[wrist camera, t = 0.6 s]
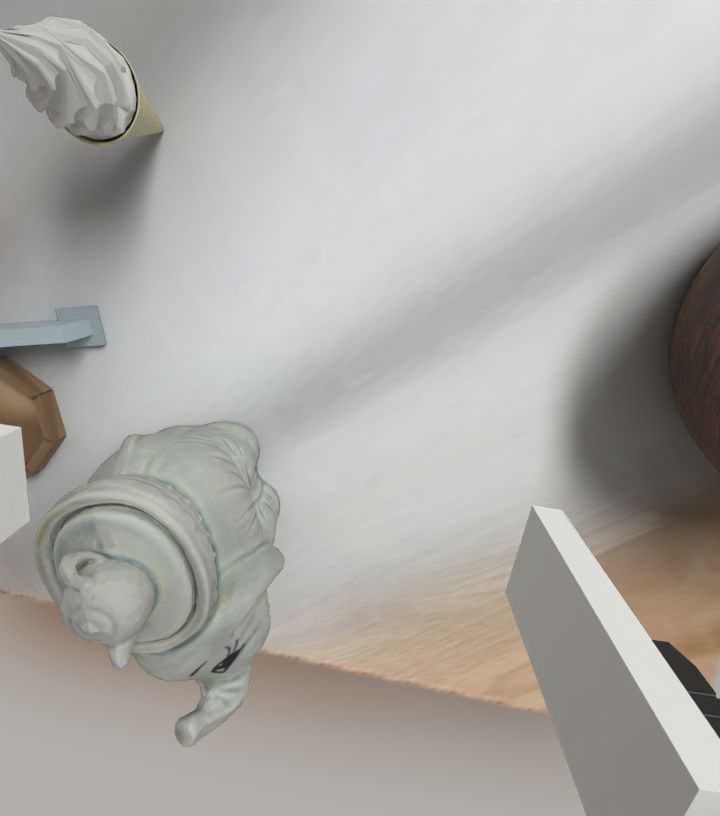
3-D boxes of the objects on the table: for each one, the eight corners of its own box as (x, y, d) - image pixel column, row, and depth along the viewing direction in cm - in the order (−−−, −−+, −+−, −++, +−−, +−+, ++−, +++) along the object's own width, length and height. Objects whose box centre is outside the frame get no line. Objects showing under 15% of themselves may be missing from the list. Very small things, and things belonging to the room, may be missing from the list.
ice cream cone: (160, 67, 31) (-24, -86, 17) (211, 136, 32) (79, 48, 18) (108, 119, 32) (-106, 17, 18) (159, 184, 33) (-3, 137, 19)
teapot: (273, 594, 45) (203, 824, 27) (120, 536, 43) (-61, 738, 25) (340, 449, 39) (308, 614, 22) (169, 378, 38) (-15, 492, 20)
